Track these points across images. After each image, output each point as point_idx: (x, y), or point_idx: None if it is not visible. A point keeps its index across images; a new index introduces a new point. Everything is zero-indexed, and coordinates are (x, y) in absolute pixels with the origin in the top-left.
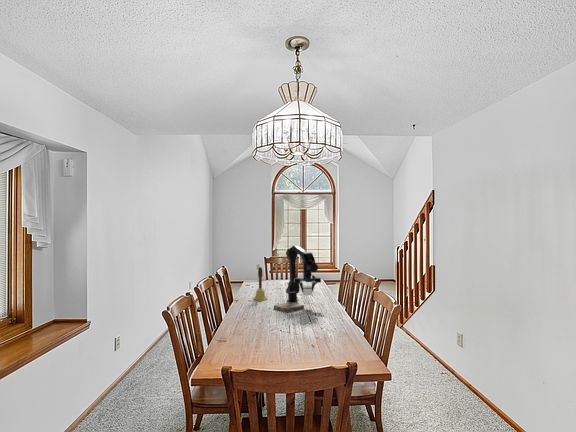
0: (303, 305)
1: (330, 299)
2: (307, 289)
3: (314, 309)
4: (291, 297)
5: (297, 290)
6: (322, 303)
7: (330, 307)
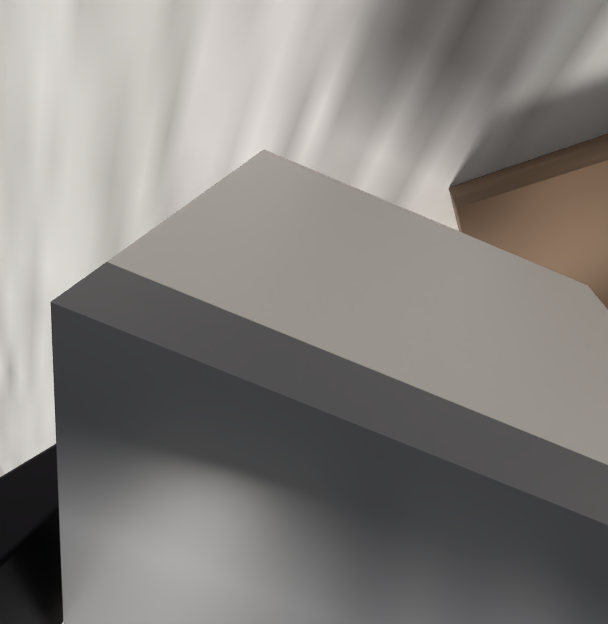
0: (476, 200)
1: (9, 448)
2: (467, 374)
3: (293, 74)
4: None
5: None
6: None
7: (8, 124)
